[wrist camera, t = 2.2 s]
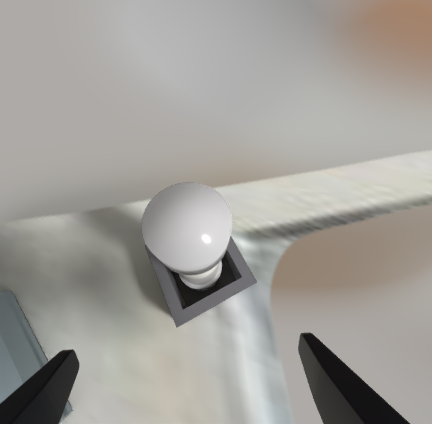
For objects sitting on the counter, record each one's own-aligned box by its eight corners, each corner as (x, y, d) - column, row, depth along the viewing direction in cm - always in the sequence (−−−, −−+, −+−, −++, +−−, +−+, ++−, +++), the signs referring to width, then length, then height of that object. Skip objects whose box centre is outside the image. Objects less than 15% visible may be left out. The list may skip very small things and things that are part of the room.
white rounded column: (227, 278, 21) (249, 239, 9) (191, 298, 20) (161, 284, 8) (209, 244, 22) (207, 170, 10) (174, 261, 21) (129, 202, 10)
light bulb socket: (249, 286, 20) (256, 281, 17) (182, 324, 19) (176, 327, 16) (216, 225, 23) (216, 211, 20) (154, 254, 22) (144, 245, 18)
